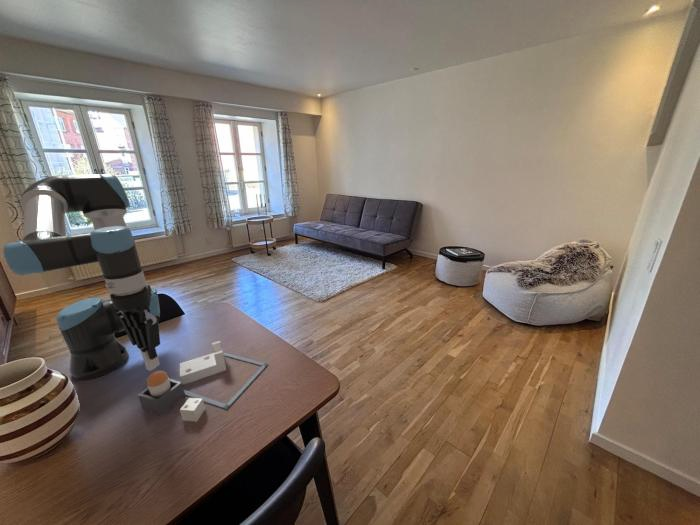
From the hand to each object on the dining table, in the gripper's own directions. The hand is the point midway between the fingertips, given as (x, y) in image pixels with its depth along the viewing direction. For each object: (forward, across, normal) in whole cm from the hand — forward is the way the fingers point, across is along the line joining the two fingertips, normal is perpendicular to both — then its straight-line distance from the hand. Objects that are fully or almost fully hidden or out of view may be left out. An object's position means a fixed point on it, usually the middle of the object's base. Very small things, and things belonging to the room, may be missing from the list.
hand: (153, 366), depth 77 cm
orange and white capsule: (+10, 0, 0) cm, 10 cm away
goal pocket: (+13, +10, +14) cm, 21 cm away
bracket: (+13, 0, +14) cm, 19 cm away
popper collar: (+13, 0, 0) cm, 13 cm away
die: (+13, +12, 0) cm, 17 cm away
